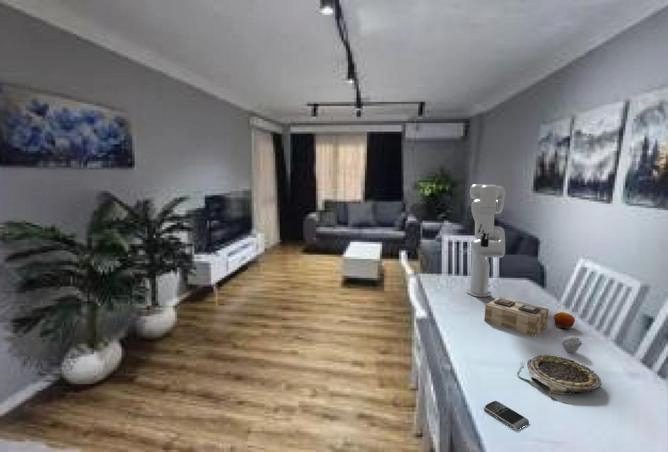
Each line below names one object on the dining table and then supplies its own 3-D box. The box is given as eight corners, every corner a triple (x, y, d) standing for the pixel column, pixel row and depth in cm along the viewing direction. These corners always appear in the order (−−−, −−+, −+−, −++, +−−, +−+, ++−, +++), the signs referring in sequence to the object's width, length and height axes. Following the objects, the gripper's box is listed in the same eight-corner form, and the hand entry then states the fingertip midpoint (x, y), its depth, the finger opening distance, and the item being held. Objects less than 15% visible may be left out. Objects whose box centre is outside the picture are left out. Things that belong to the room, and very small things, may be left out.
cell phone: (494, 403, 112) (494, 399, 112) (530, 424, 103) (530, 420, 102) (481, 410, 109) (482, 406, 108) (517, 433, 99) (517, 428, 99)
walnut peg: (500, 316, 177) (502, 299, 176) (509, 319, 174) (510, 301, 173) (497, 318, 174) (498, 301, 173) (505, 321, 172) (507, 303, 170)
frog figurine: (572, 357, 140) (574, 340, 138) (556, 348, 146) (558, 332, 145) (584, 355, 141) (586, 338, 140) (568, 347, 148) (570, 330, 147)
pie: (526, 353, 143) (528, 341, 142) (614, 379, 126) (616, 366, 126) (508, 385, 122) (510, 371, 121) (610, 422, 105) (613, 406, 104)
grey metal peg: (524, 323, 169) (526, 305, 168) (534, 326, 166) (536, 307, 165) (521, 326, 166) (523, 307, 165) (530, 328, 164) (532, 310, 162)
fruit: (554, 326, 164) (555, 309, 166) (552, 329, 170) (553, 312, 173) (575, 330, 160) (576, 312, 163) (573, 333, 166) (573, 316, 169)
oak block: (498, 312, 184) (499, 295, 182) (546, 325, 168) (548, 307, 167) (484, 320, 173) (485, 302, 172) (534, 336, 157) (536, 316, 156)
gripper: (486, 208, 190) (483, 243, 193) (472, 210, 180) (470, 247, 183) (501, 210, 185) (498, 245, 188) (488, 212, 175) (485, 249, 178)
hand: (484, 246), depth 185 cm, fingers closed
